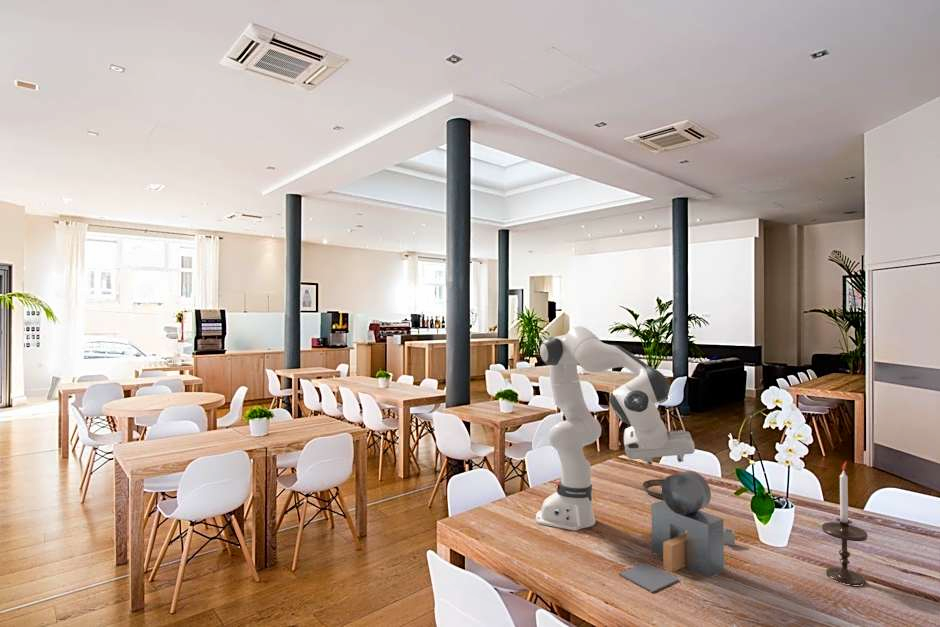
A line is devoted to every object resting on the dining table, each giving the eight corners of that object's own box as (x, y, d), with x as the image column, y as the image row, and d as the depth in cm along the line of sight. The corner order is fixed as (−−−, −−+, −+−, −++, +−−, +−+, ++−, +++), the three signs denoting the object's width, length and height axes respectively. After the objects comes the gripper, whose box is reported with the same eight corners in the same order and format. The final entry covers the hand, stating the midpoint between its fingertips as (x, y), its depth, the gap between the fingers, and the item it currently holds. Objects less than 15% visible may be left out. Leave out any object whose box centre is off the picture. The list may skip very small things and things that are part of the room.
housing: (708, 578, 151) (707, 484, 151) (651, 552, 168) (651, 467, 168) (723, 571, 156) (722, 479, 156) (667, 546, 172) (666, 463, 173)
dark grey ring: (636, 495, 222) (636, 488, 222) (649, 482, 239) (649, 475, 239) (686, 505, 210) (686, 497, 210) (696, 491, 227) (696, 483, 227)
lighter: (734, 543, 174) (733, 520, 174) (735, 545, 173) (734, 522, 173) (711, 540, 177) (711, 517, 177) (712, 543, 175) (711, 519, 175)
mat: (652, 593, 144) (652, 591, 144) (619, 575, 154) (619, 573, 154) (678, 580, 150) (678, 579, 150) (645, 564, 160) (645, 562, 160)
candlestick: (877, 584, 147) (876, 463, 147) (849, 590, 144) (848, 467, 144) (840, 567, 158) (839, 454, 158) (813, 572, 155) (812, 457, 155)
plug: (671, 572, 155) (671, 545, 156) (663, 568, 158) (663, 542, 158) (695, 561, 162) (695, 536, 162) (687, 557, 164) (686, 533, 165)
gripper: (687, 421, 151) (699, 449, 158) (619, 429, 161) (633, 456, 167) (689, 438, 146) (701, 467, 153) (619, 446, 156) (633, 472, 163)
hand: (665, 461), depth 160 cm, fingers open, 8 cm apart
